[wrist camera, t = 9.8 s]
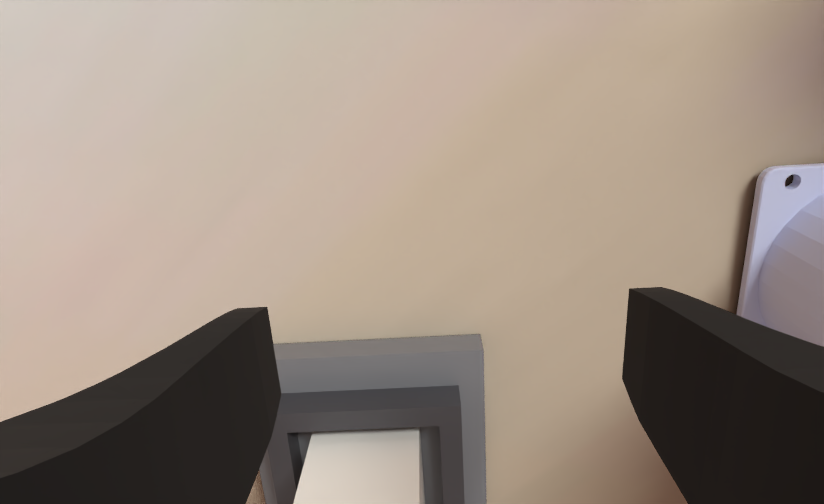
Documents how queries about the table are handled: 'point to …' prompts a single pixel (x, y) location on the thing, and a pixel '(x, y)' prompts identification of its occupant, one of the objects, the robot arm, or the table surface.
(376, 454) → the plug
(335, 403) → the grey rectangular tray
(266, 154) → the table surface
